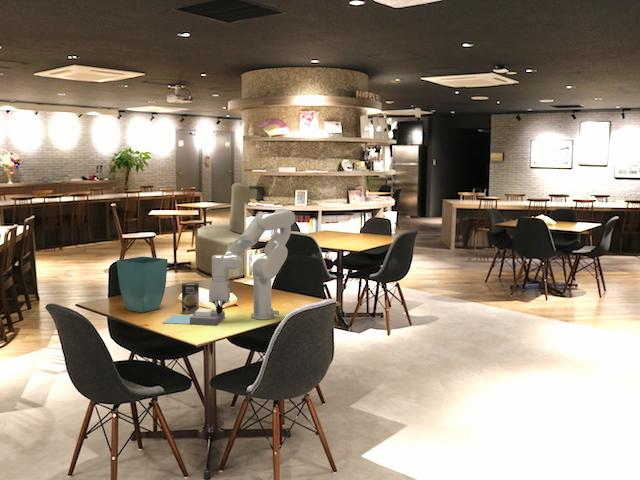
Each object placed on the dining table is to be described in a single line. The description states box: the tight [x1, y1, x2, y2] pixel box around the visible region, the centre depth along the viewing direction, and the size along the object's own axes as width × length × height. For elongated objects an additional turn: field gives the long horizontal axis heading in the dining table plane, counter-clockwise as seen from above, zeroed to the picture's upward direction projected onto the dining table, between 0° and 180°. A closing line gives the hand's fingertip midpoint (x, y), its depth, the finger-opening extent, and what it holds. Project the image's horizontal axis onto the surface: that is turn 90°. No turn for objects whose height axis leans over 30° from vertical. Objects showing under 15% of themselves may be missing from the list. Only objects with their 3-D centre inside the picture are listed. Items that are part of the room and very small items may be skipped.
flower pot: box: [116, 255, 169, 313], centre depth 351 cm, size 20×20×28 cm
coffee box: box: [181, 282, 200, 315], centre depth 346 cm, size 9×6×16 cm
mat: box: [162, 314, 192, 325], centre depth 331 cm, size 14×16×1 cm
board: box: [189, 310, 226, 326], centre depth 329 cm, size 14×16×4 cm
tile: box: [195, 308, 215, 316], centre depth 329 cm, size 8×7×2 cm
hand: (219, 313), depth 328 cm, fingers closed
